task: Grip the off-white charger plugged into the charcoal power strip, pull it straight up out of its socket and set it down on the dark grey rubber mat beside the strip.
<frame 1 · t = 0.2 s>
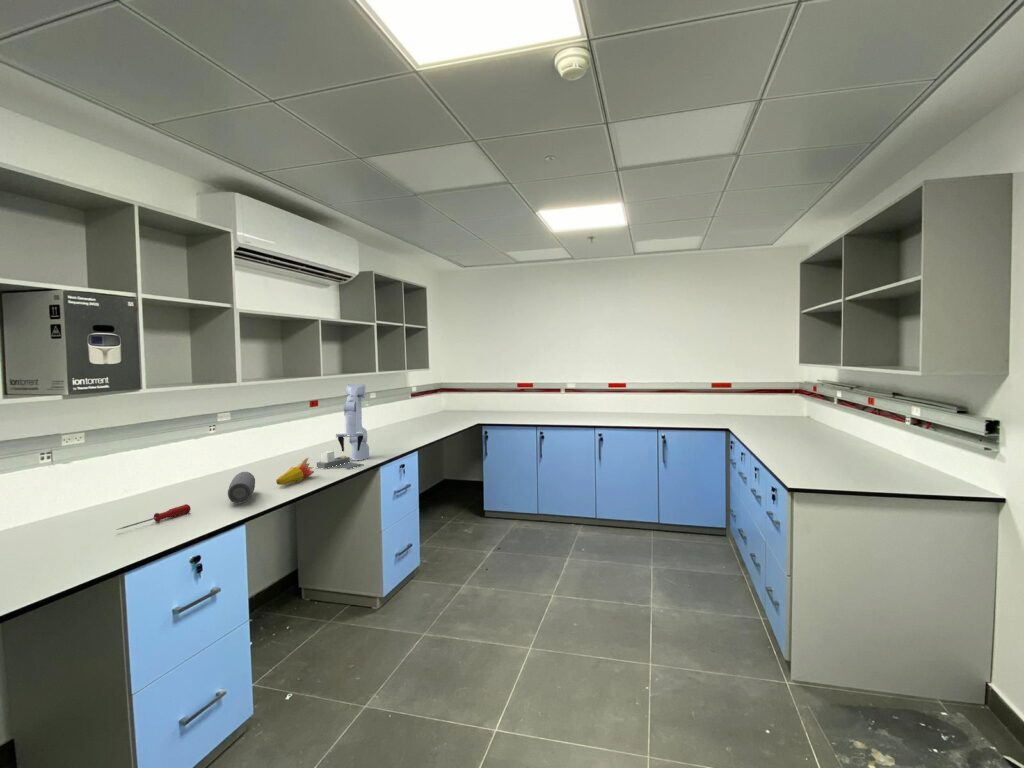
hand: (350, 451, 256), 10 cm above the worktop, tool pointing down, fingers open, 7 cm apart
charger: (327, 461, 268), point 3 cm above the worktop, touching power strip
screwdriver: (155, 523, 177), on the worktop
bluetooth speaker: (242, 499, 206), on the worktop
torch: (294, 482, 235), on the worktop
power strip: (333, 465, 272), on the worktop
mat: (348, 466, 268), on the worktop
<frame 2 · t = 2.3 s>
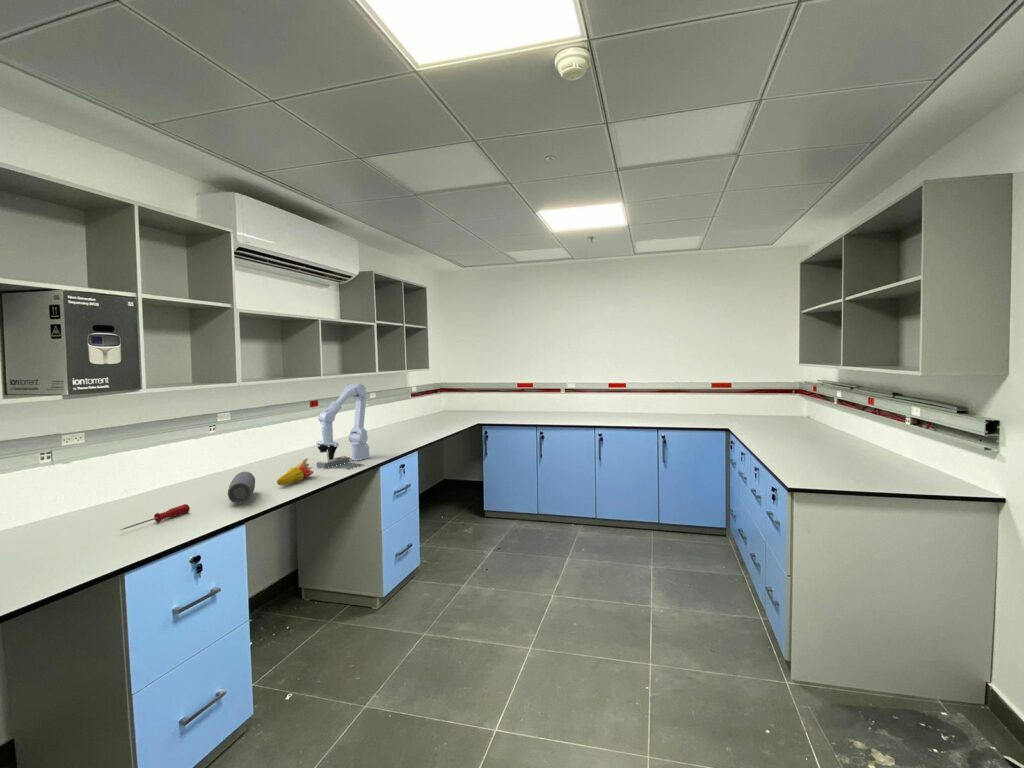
hand: (327, 458, 268), 4 cm above the worktop, tool pointing down, fingers closed on charger, 4 cm apart
charger: (327, 461, 268), point 3 cm above the worktop, touching gripper, power strip
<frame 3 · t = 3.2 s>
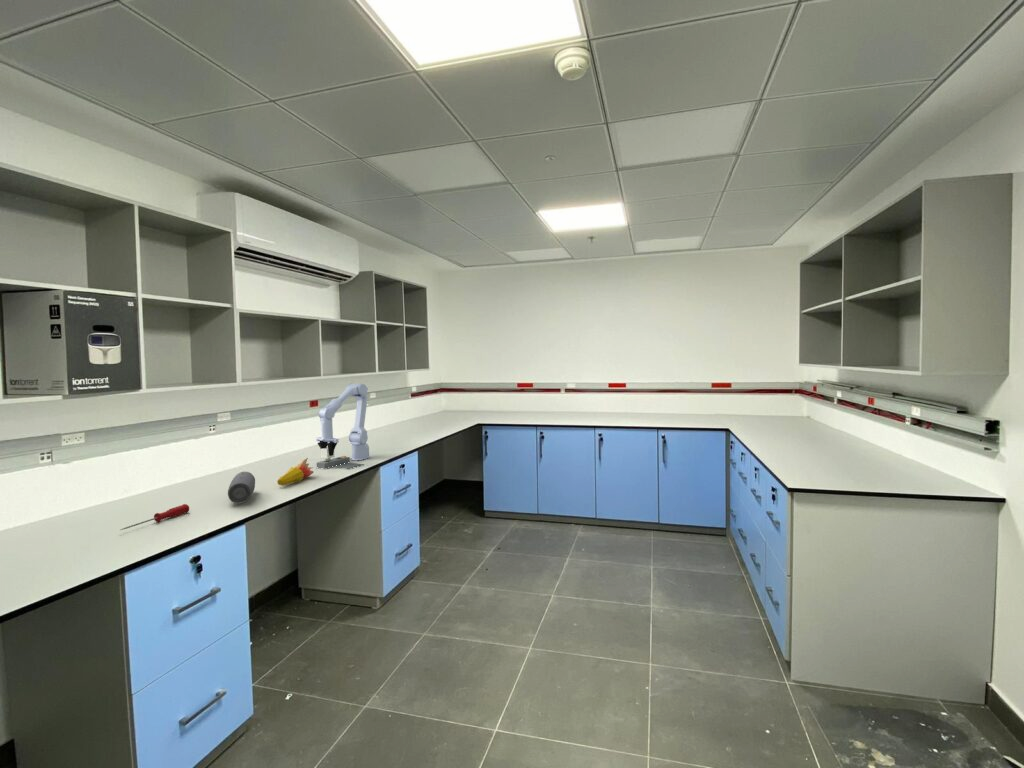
hand: (327, 455, 268), 6 cm above the worktop, tool pointing down, fingers closed on charger, 4 cm apart
charger: (327, 457, 268), point 5 cm above the worktop, touching gripper
everything else where it was.
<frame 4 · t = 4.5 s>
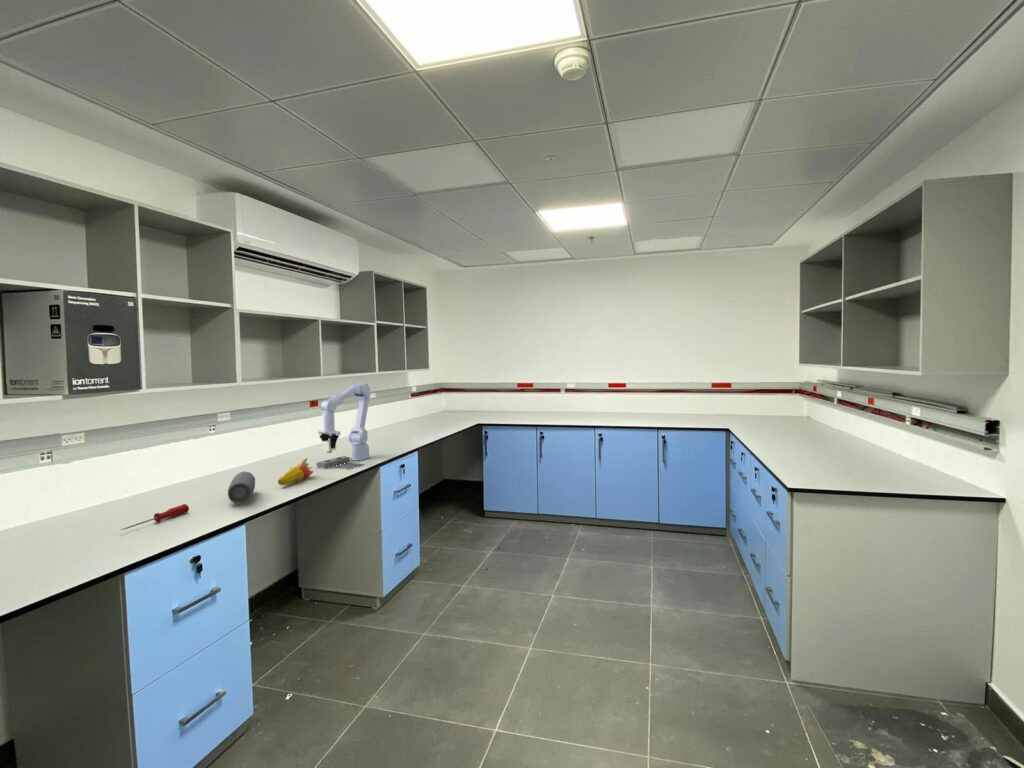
hand: (329, 447, 268), 10 cm above the worktop, tool pointing down, fingers closed on charger, 4 cm apart
charger: (329, 450, 268), point 9 cm above the worktop, touching gripper
everything else where it was.
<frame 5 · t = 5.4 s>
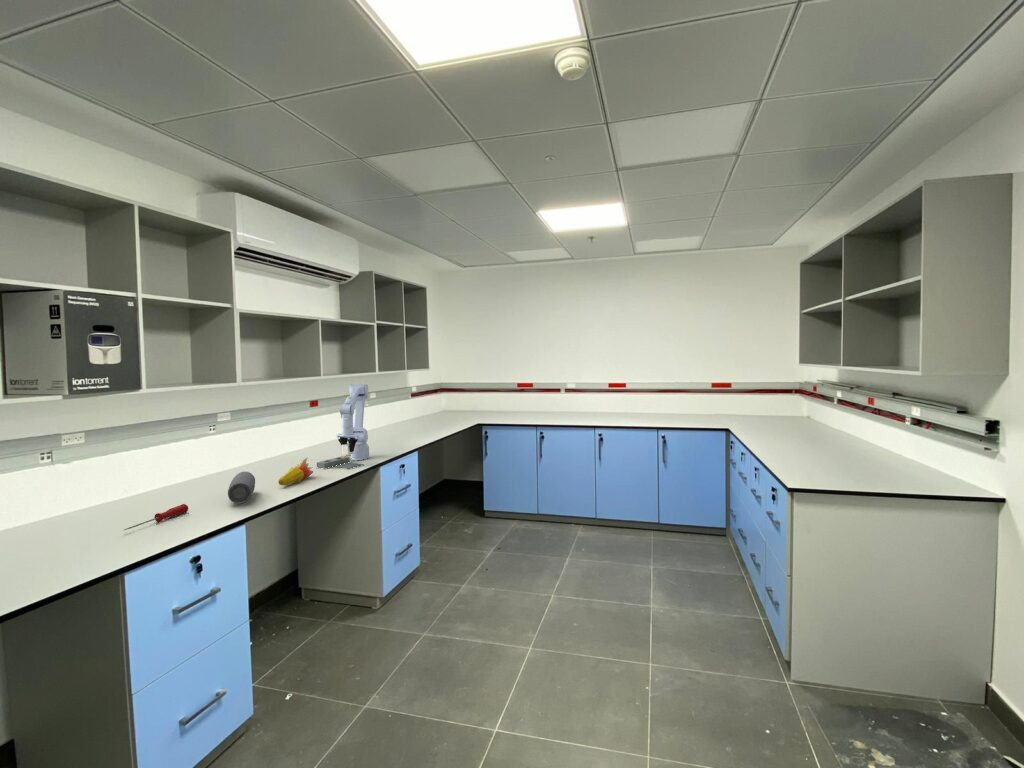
hand: (348, 451, 268), 8 cm above the worktop, tool pointing down, fingers closed on charger, 4 cm apart
charger: (348, 453, 268), point 7 cm above the worktop, touching gripper
when the fingers open (5 cm above the worktop, at t = 6.4 s): charger drops 2 cm, resting on mat.
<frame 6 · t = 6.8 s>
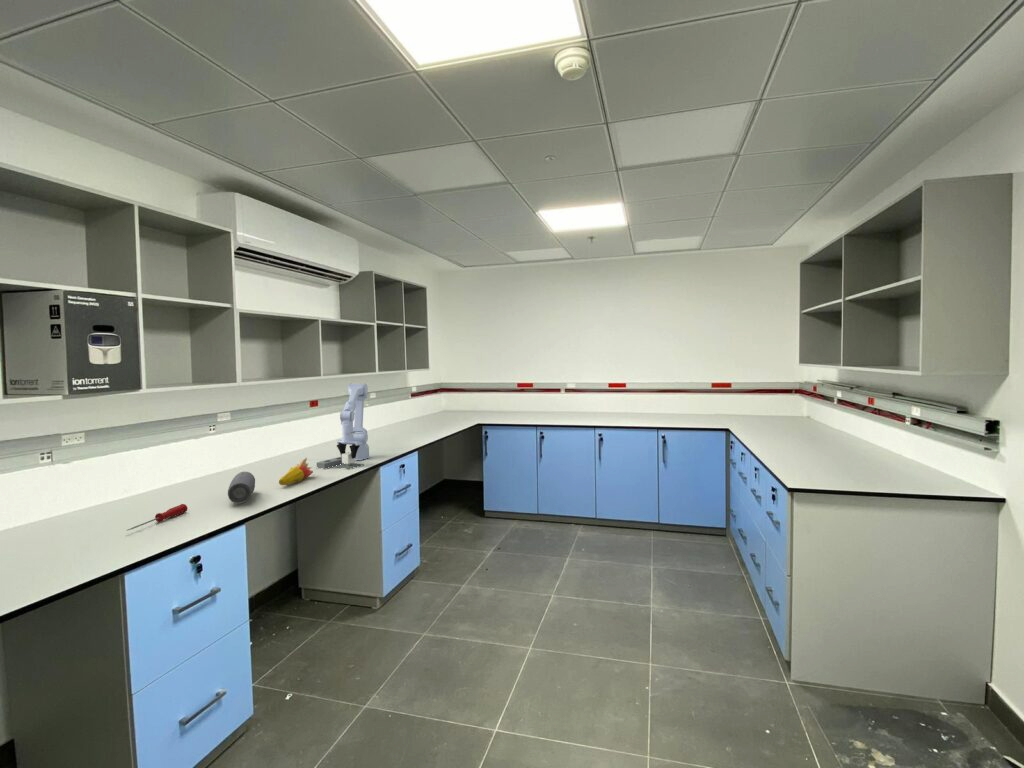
hand: (348, 457, 268), 5 cm above the worktop, tool pointing down, fingers open, 7 cm apart
charger: (348, 462, 268), point 2 cm above the worktop, touching mat
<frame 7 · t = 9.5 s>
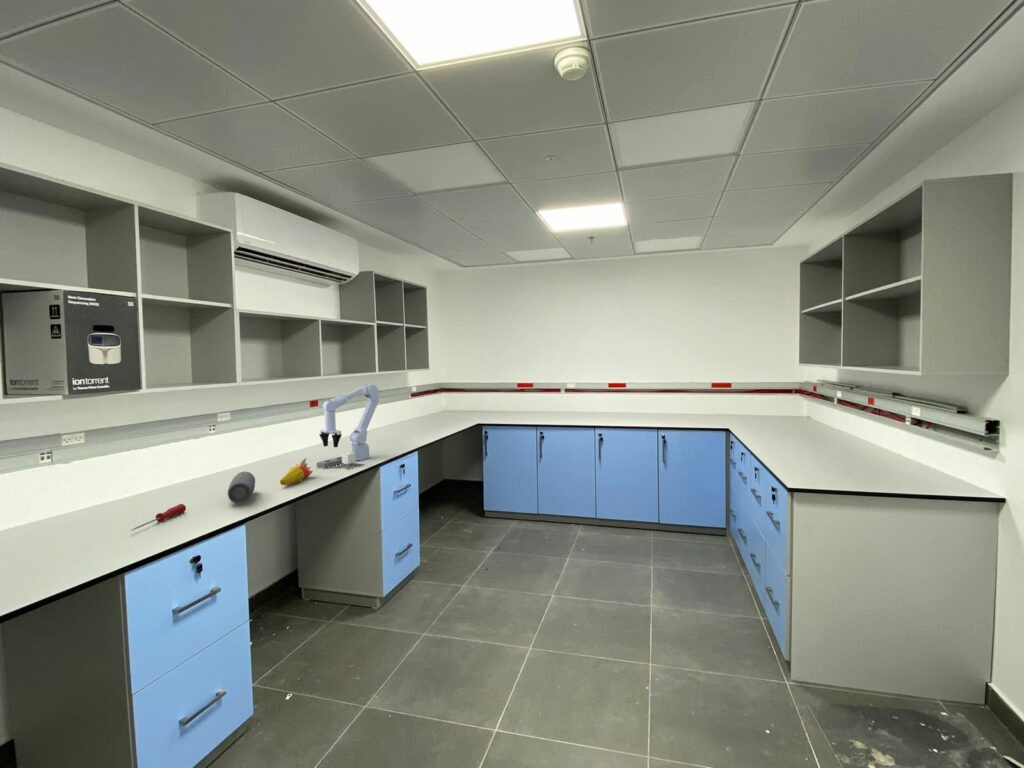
hand: (330, 446, 276), 9 cm above the worktop, tool pointing down, fingers open, 7 cm apart
at the end: charger inside the target area on the mat (0.0 cm from its centre), point 2.1 cm above the mat's base; charger touching mat; the gripper is holding nothing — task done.
